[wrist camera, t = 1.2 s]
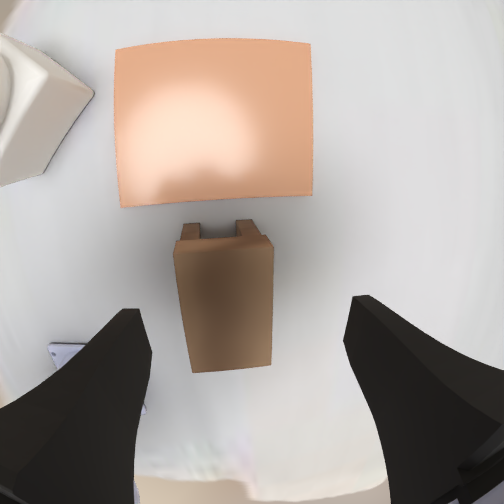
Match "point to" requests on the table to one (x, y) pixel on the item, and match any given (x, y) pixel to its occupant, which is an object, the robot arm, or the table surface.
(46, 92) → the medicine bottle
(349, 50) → the table surface
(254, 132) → the terracotta tile
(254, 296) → the brown slotted block
